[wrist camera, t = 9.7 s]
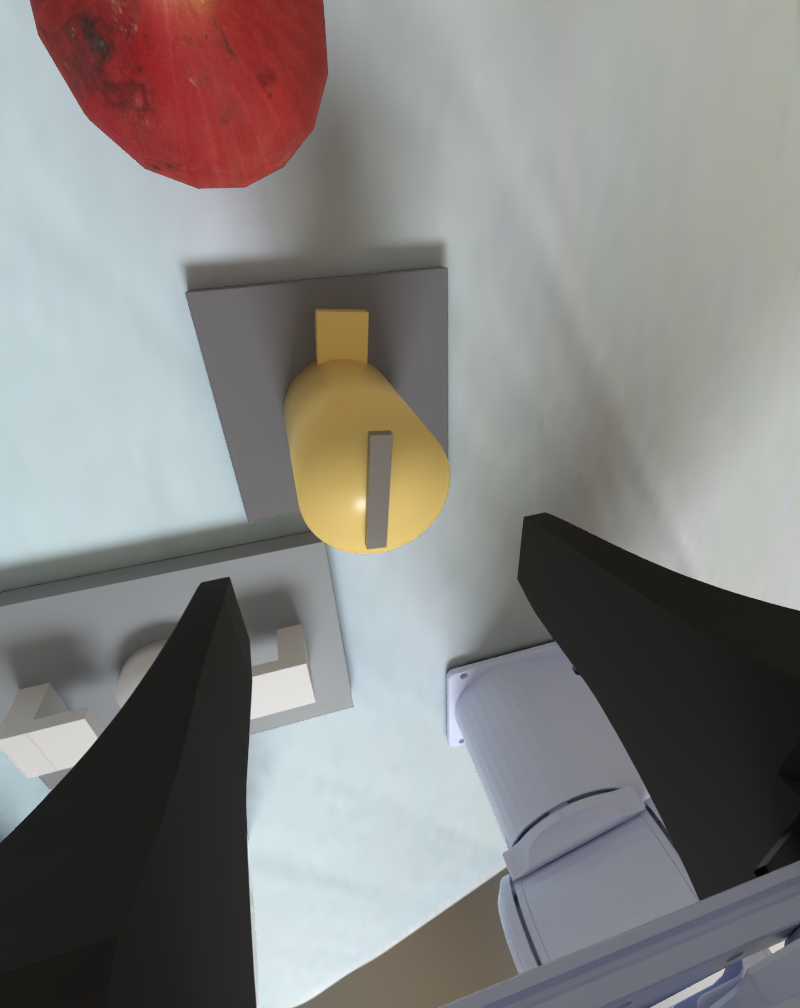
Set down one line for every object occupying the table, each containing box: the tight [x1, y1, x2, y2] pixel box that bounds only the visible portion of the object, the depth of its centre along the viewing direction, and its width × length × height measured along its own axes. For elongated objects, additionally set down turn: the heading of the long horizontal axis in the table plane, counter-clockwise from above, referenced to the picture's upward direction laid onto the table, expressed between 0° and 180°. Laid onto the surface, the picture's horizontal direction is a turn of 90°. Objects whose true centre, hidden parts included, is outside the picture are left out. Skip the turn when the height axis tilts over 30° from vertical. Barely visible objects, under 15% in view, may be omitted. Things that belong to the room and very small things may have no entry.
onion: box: [30, 0, 328, 189], centre depth 10 cm, size 6×6×8 cm
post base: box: [0, 531, 354, 789], centre depth 22 cm, size 16×12×4 cm
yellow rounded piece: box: [284, 309, 450, 554], centre depth 16 cm, size 8×4×7 cm, turn 176°
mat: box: [185, 267, 448, 522], centre depth 19 cm, size 9×9×1 cm
